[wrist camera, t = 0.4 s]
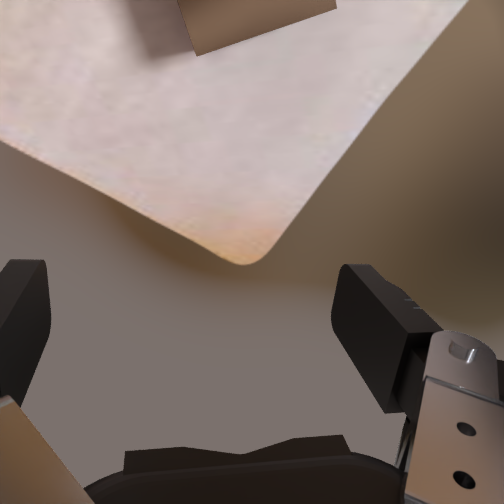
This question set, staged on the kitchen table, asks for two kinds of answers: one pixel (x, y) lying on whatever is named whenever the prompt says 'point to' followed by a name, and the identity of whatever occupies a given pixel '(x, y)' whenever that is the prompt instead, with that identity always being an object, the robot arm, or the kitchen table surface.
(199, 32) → the plinth
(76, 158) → the kitchen table surface
